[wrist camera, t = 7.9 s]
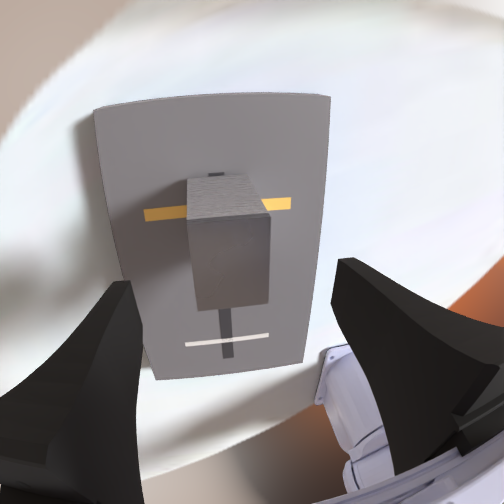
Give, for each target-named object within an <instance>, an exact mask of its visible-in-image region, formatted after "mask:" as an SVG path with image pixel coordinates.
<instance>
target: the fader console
mask: <svg viewBox="0 0 504 504" xmlns="http://www.w3.org/2000/svg"><path fill="white" fill-rule="evenodd" d="M330 104H331V97H330V96H325V95H319V94H306V93H270V92H255V93H219V94H201V95H188V96H177V97H167V98H158V99H149V100H142V101H134V102H128V103H121V104H115V105H109V106H104V107H101V108H98V109H95V110H93V113H94V122H95V131H96V139H97V147H98V154H99V161H100V168H101V174H102V180H103V186H104V192H105V197H106V203H107V208H108V213H109V218H110V223H111V228H112V232H113V237H114V241H115V245H116V250H117V254H118V258H119V262H120V266H121V270H122V274H123V278H124V281H127V280H130V281H131V284H132V288H133V292H134V296H135V299H136V303H137V307H138V310H139V314H140V317H141V321H142V324H143V345H144V348H145V351H146V354H147V357H148V359H149V362H150V365H151V368H152V371H153V373H154V376H155V379H156V380H169V379H182V378H194V377H204V376H214V375H223V374H231V373H239V372H247V371H254V370H261V369H268V368H274V367H280V366H286V365H292V364H298V363H303V357H304V351H305V345H306V339H307V333H308V326H309V319H310V313H311V306H312V299H313V291H314V284H315V276H316V269H317V260H318V252H319V243H320V234H321V225H322V215H323V205H324V194H325V182H326V170H327V156H328V142H329V125H330ZM241 174H247V175H248V177H249V179H250V181H251V182H252V184H253V186H254V188H255V189H256V191H257V193H258V195H259V197H260V198H261V200H262V202H263V204H264V206H265V207H266V209H267V211H268V213H269V215H270V216H271V239H270V273H269V302H268V304H261V305H253V306H244V307H236V308H227V309H218V310H208V311H198V310H197V303H196V296H195V289H194V281H193V274H192V266H191V257H190V249H189V240H188V231H187V179H189V178H200V177H213V176H226V175H241Z"/></svg>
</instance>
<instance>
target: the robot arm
mask: <svg viewBox="0 0 504 504" xmlns="http://www.w3.org/2000/svg"><path fill="white" fill-rule="evenodd" d="M331 306H332V309H333V312H334V315H335V317H336V320H337V322H338V325H339V327H340V329H341V331H342V333H343V335H344V337H345V338H346V340H347V342H348V344H349V345H345V346H340V347H336V348H331V349H329V350H328V351H327V353H326V357H325V361H324V365H323V369H322V373H321V377H320V381H319V385H318V389H317V392H316V396H315V400H314V403H315V405H321V404H324V407H325V409H326V412H327V414H328V417H329V420H330V422H331V425H332V427H333V430H334V432H335V435H336V438H337V440H338V443H339V444H340V446H341V448H342V449H343V450H344V451H345V452H347V453H348V454H349V455H350V458H351V460H349V461H347V462H346V464H345V468H344V471H343V479H344V483H345V487H346V490H347V492H348V494H345V495H342V496H338V497H335V498H332V499H328V500H325V501H321V502H317V503H313V504H398V503H400V502H401V503H400V504H502V503H503V502H504V327H499V326H495V325H491V324H488V323H484V322H481V321H477V320H474V319H471V318H468V317H466V316H463V315H460V314H457V313H455V312H452V311H450V310H448V309H445V308H443V307H441V306H439V305H437V304H435V303H432V302H430V301H428V300H426V299H424V298H423V297H421V296H419V295H417V294H415V293H413V292H412V291H410V290H408V289H406V288H405V287H403V286H401V285H400V284H398V283H396V282H395V281H393V280H391V279H390V278H388V277H386V276H385V275H383V274H382V273H380V272H378V271H377V270H375V269H373V268H372V267H370V266H368V265H367V264H365V263H363V262H361V261H360V260H358V259H356V258H354V257H352V258H343V259H338V263H337V269H336V275H335V281H334V287H333V293H332V298H331ZM142 352H143V324H142V321H141V317H140V314H139V310H138V307H137V303H136V299H135V296H134V292H133V288H132V284H131V281H130V280H127V281H115V282H113V283H112V284H111V285H110V287H109V288H108V289H107V290H106V292H105V293H104V294H103V296H102V297H101V298H100V299H99V301H98V302H97V303H96V305H95V306H94V307H93V308H92V310H91V311H90V312H89V314H88V315H87V316H86V317H85V319H84V320H83V321H82V322H81V323H80V325H79V326H78V327H77V328H76V329H75V330H74V332H73V333H72V334H71V335H70V336H69V337H68V339H67V340H66V341H65V342H64V343H63V344H62V345H61V346H60V347H59V348H58V349H57V350H56V351H55V352H54V353H53V354H52V355H51V356H50V357H49V358H48V359H47V360H46V361H45V362H44V363H43V364H42V365H41V366H40V367H38V368H37V369H36V370H35V371H34V372H33V373H32V374H30V375H29V376H28V377H27V378H26V379H25V380H23V381H22V382H21V383H19V384H18V385H17V386H16V387H14V388H13V389H11V390H10V391H9V392H7V393H6V394H4V395H3V396H2V397H0V484H1V488H0V504H144V498H143V492H142V486H141V479H140V471H139V462H138V450H137V434H136V404H137V394H138V385H139V376H140V368H141V360H142Z"/></svg>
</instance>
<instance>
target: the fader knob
mask: <svg viewBox="0 0 504 504" xmlns="http://www.w3.org/2000/svg"><path fill="white" fill-rule="evenodd" d="M187 231H188V240H189V249H190V257H191V266H192V274H193V281H194V289H195V296H196V303H197V310H198V311H208V310H218V309H227V308H236V307H244V306H253V305H261V304H268V302H269V273H270V239H271V216H270V215H269V213H268V211H267V209H266V207H265V206H264V204H263V202H262V200H261V198H260V197H259V195H258V193H257V191H256V189H255V188H254V186H253V184H252V182H251V181H250V179H249V177H248V175H247V174H241V175H226V176H213V177H200V178H189V179H187Z"/></svg>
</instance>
